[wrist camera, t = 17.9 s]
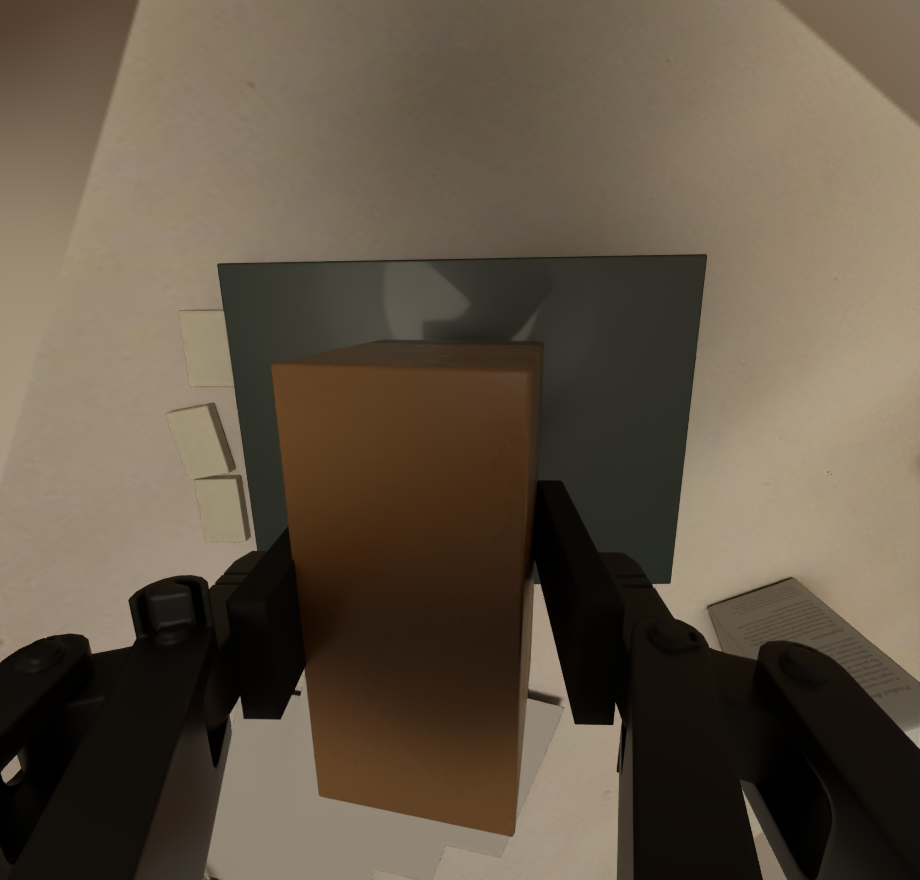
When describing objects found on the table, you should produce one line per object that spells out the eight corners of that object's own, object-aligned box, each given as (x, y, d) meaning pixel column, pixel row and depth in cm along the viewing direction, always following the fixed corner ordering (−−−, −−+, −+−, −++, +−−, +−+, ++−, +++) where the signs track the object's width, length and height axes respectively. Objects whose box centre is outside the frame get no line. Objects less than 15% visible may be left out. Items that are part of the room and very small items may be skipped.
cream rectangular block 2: (236, 479, 28) (242, 474, 29) (193, 479, 28) (200, 474, 29) (246, 542, 29) (252, 536, 30) (204, 542, 29) (211, 536, 30)
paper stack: (464, 932, 38) (464, 943, 38) (148, 862, 37) (142, 872, 36) (562, 699, 32) (564, 708, 31) (187, 604, 31) (181, 611, 30)
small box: (823, 675, 31) (991, 852, 21) (737, 702, 32) (861, 885, 22) (794, 573, 29) (965, 714, 19) (704, 604, 30) (823, 755, 20)
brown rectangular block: (380, 339, 15) (268, 363, 9) (544, 341, 14) (531, 369, 8) (394, 641, 18) (317, 798, 12) (530, 660, 17) (514, 839, 11)
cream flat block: (206, 405, 27) (214, 402, 27) (164, 413, 27) (172, 410, 28) (229, 473, 28) (236, 468, 28) (188, 480, 28) (195, 476, 29)
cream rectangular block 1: (186, 310, 26) (177, 310, 25) (232, 310, 26) (225, 310, 25) (197, 384, 27) (189, 386, 26) (241, 384, 27) (234, 387, 26)
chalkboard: (230, 265, 25) (216, 263, 24) (694, 256, 25) (708, 253, 23) (271, 572, 30) (261, 585, 29) (661, 570, 30) (671, 584, 28)
